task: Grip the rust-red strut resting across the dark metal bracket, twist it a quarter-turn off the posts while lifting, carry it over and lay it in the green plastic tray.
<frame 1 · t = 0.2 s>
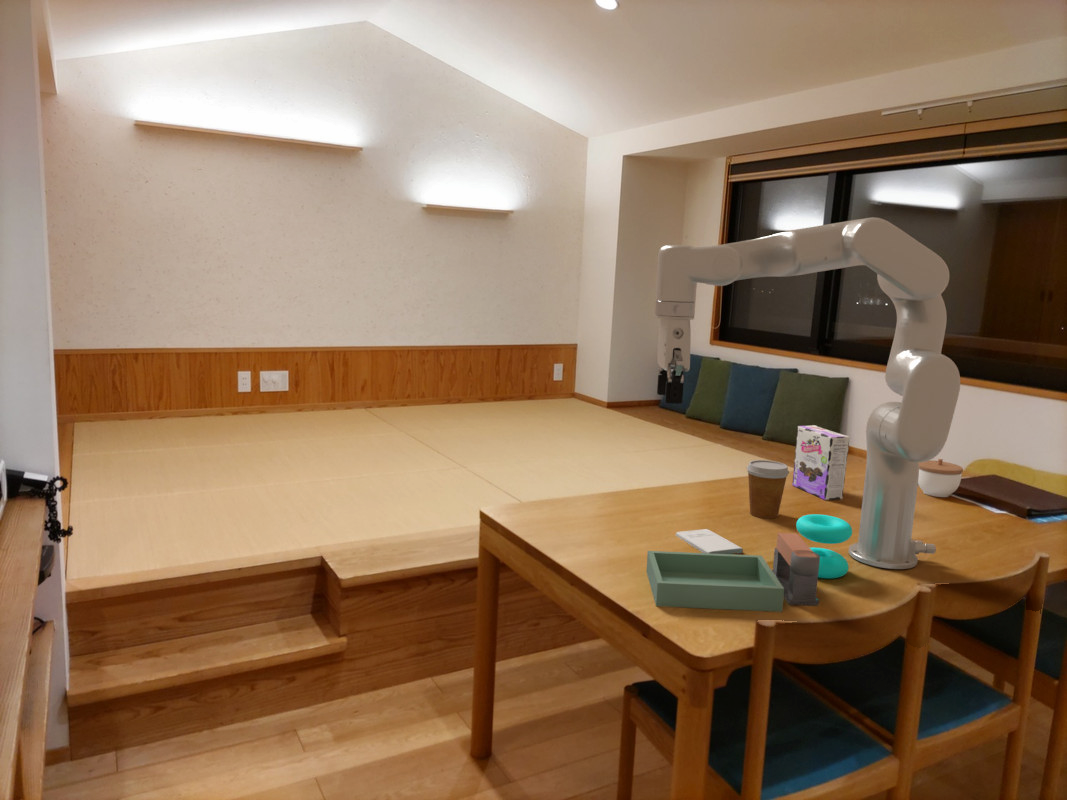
hand: (669, 398, 152), 31 cm above the table, tool pointing down, fingers open, 9 cm apart
lidded jar: (936, 494, 205), on the table
tray: (710, 590, 138), on the table
bracket: (792, 589, 140), on the table
disposable coffee cup: (763, 515, 183), on the table
candy box: (816, 492, 203), on the table
strut: (795, 560, 139), point 5 cm above the table, touching bracket
external hard drive: (707, 547, 162), on the table
donuts: (819, 571, 149), on the table
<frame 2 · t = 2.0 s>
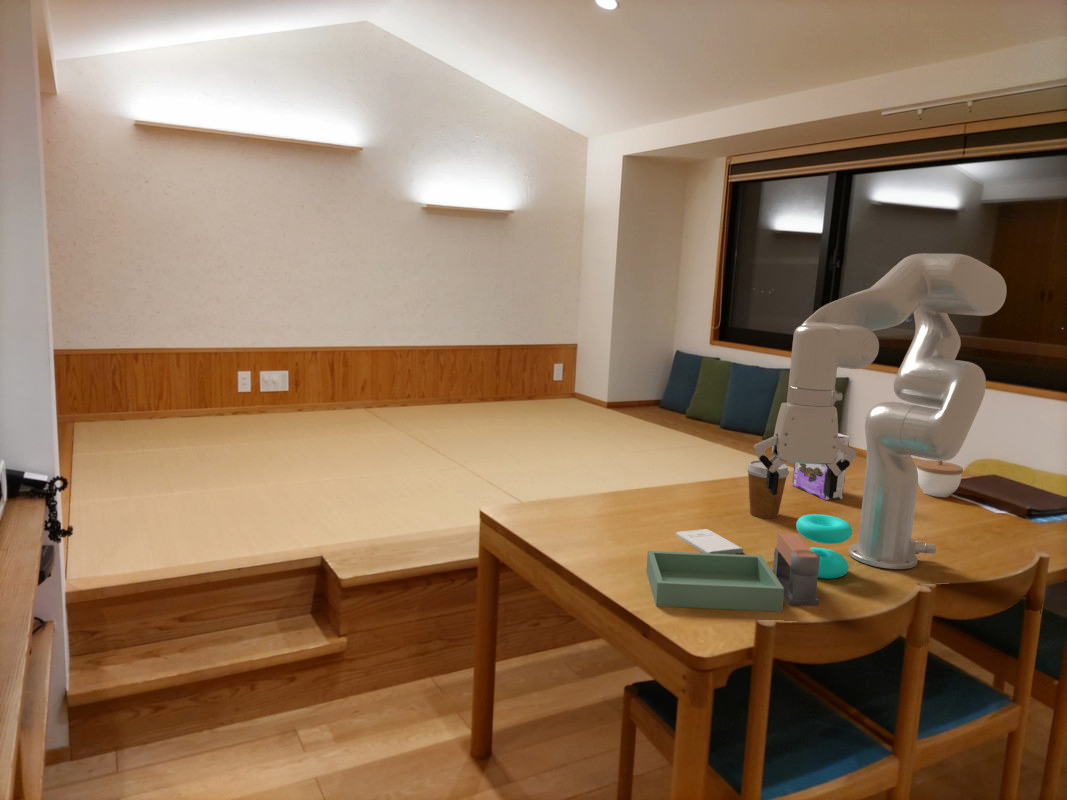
hand: (800, 494, 136), 18 cm above the table, tool pointing down, fingers open, 9 cm apart
nothing on the table moved.
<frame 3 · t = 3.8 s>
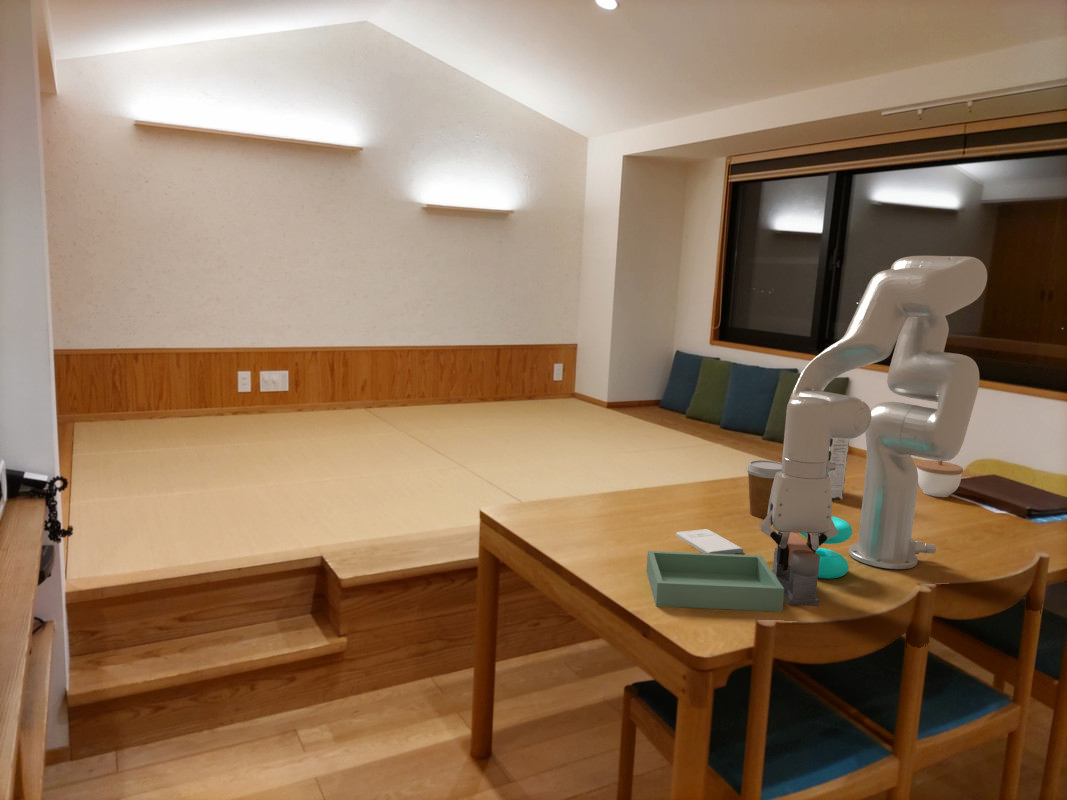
hand: (794, 567, 139), 4 cm above the table, tool pointing down, fingers closed on strut, 3 cm apart
strut: (795, 560, 139), point 6 cm above the table, touching bracket, gripper
everything else where it was.
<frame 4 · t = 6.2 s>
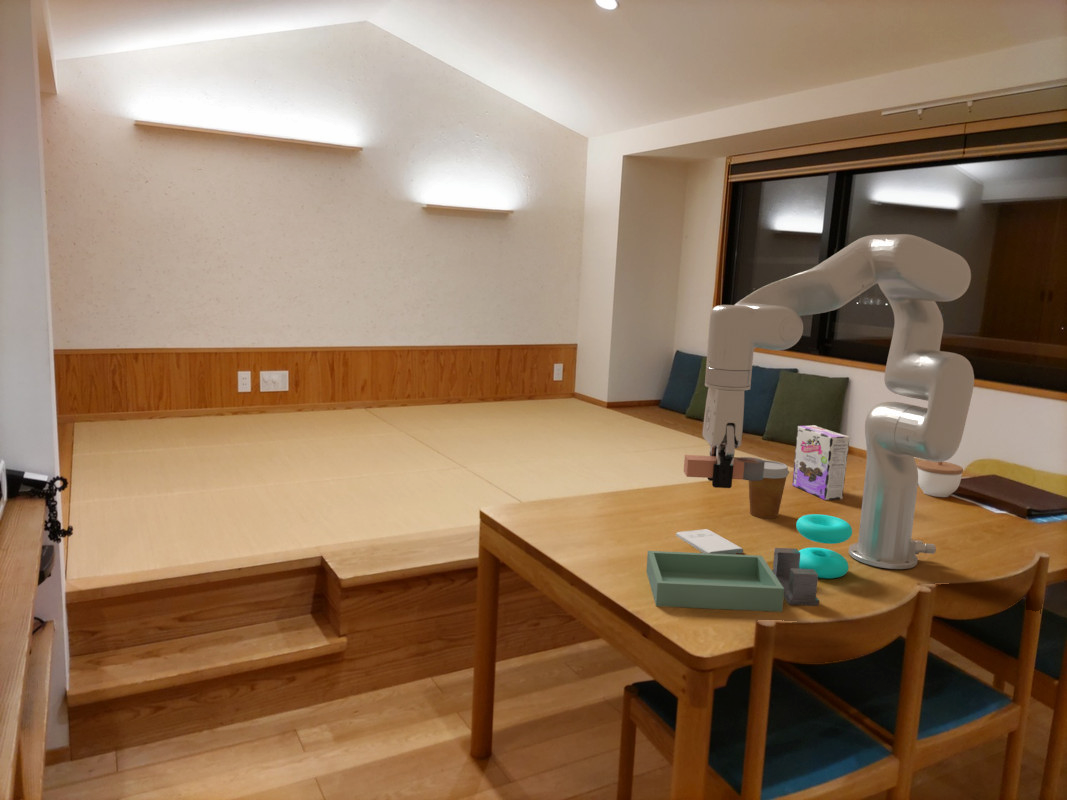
hand: (719, 482, 135), 20 cm above the table, tool pointing down, fingers closed on strut, 3 cm apart
strut: (720, 475, 135), point 21 cm above the table, touching gripper
everything else where it was.
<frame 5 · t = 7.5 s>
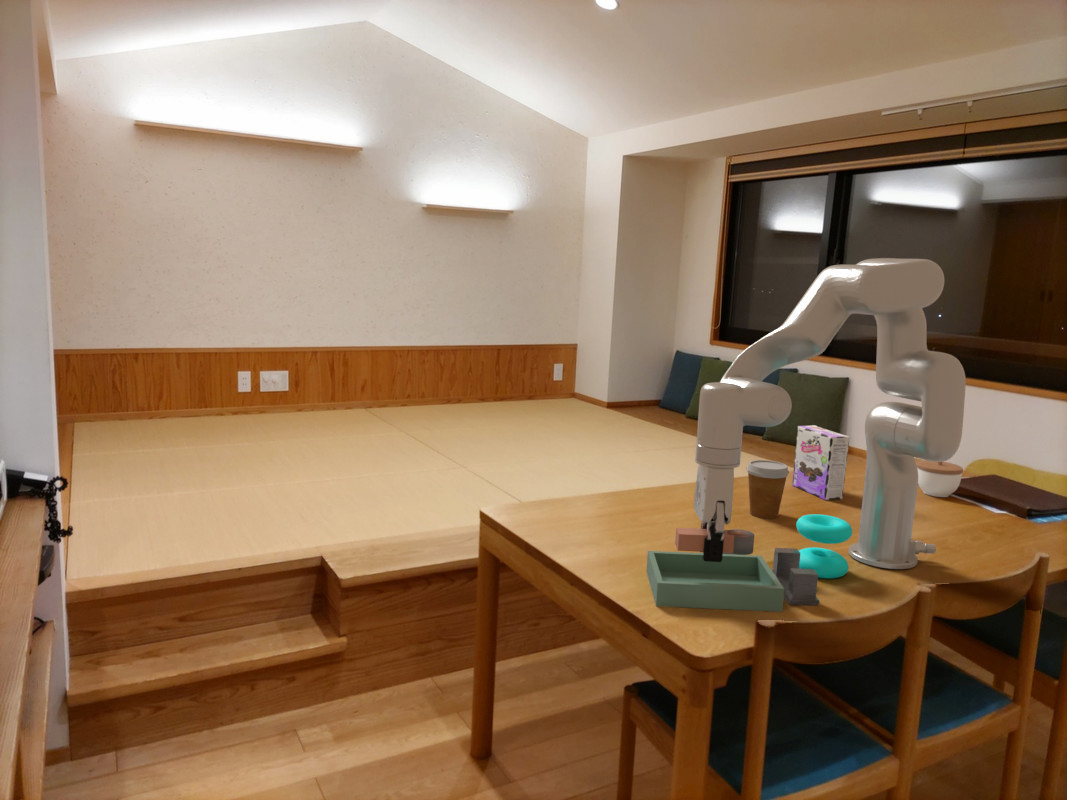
hand: (710, 555, 137), 6 cm above the table, tool pointing down, fingers closed on strut, 3 cm apart
strut: (710, 548, 137), point 8 cm above the table, touching gripper
everything else where it was.
when the fingers open (2 cm above the table, at t = 8.7 s): strut drops 3 cm, resting on tray.
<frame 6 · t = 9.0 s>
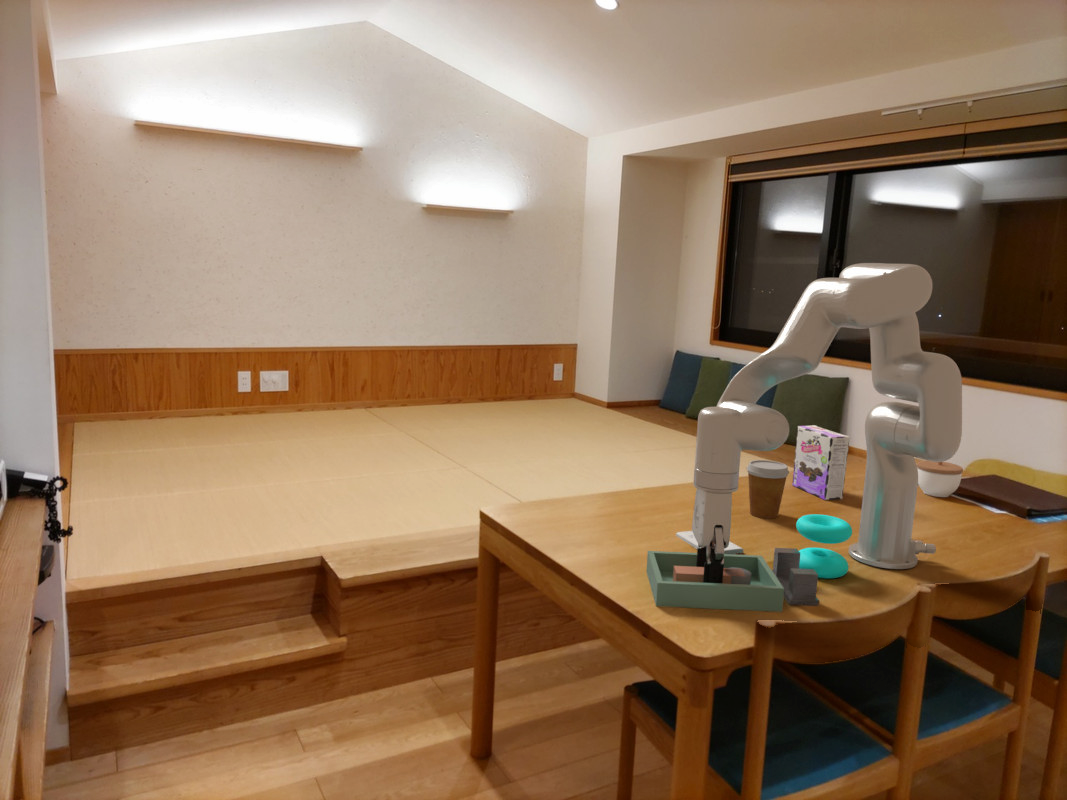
hand: (708, 576, 138), 3 cm above the table, tool pointing down, fingers open, 6 cm apart
strut: (708, 587, 138), point 1 cm above the table, touching tray
everything else where it was.
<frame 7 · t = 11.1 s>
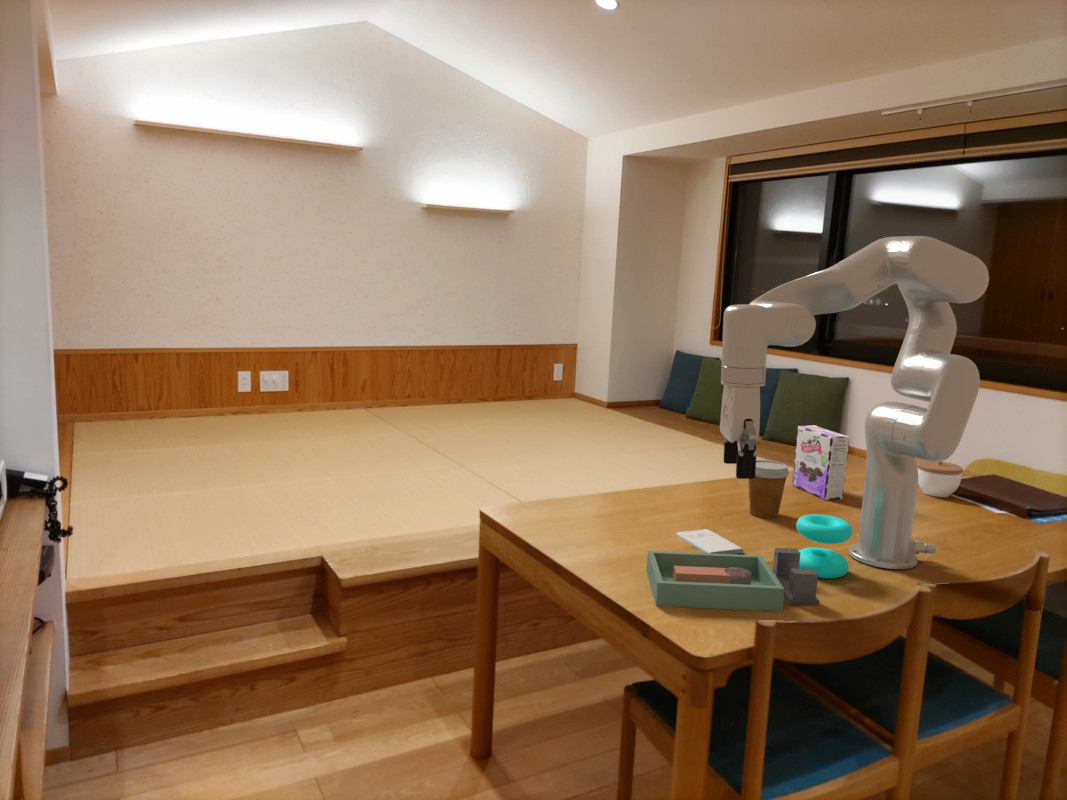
hand: (738, 470, 139), 21 cm above the table, tool pointing down, fingers open, 9 cm apart
nothing on the table moved.
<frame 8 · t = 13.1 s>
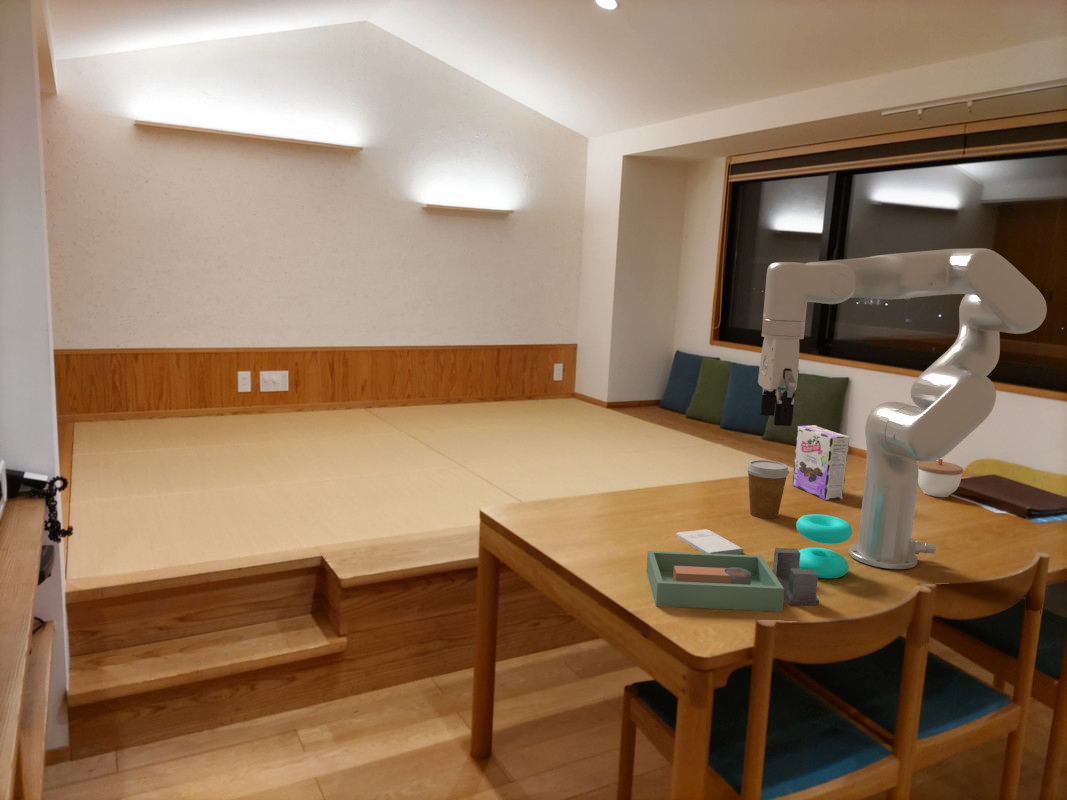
hand: (775, 420, 148), 28 cm above the table, tool pointing down, fingers open, 9 cm apart
nothing on the table moved.
at the end: strut inside the target area on the tray (0.5 cm from its centre), point 0.6 cm above the tray's base; the gripper is holding nothing; strut moved 16.3 cm from its start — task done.
